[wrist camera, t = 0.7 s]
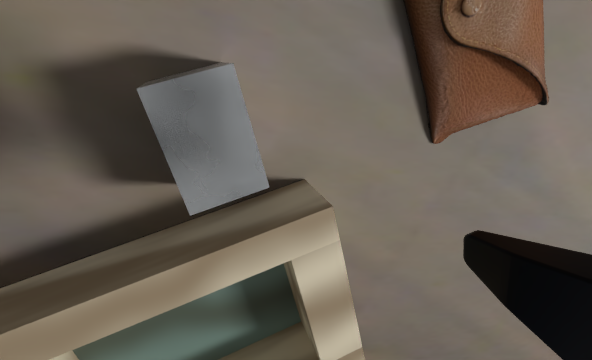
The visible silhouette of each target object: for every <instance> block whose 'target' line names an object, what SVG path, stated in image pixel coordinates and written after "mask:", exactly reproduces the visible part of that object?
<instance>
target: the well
mask: <svg viewBox="0 0 592 360" xmlns="http://www.w3.org/2000/svg"><path fill="white" fill-rule="evenodd" d="M0 360H365V358H364V353H363V348H362V343H361V339H360V334H359V329H358V324H357V319H356V315H355V310H354V305H353V300H352V295H351V291H350V286H349V281H348V276H347V272H346V267H345V262H344V257H343V252H342V248H341V243H340V238H339V233H338V228H337V224H336V219H335V214H334V209H333V206H332V205H331V204H330V203H329V202H328V201H327V200H326V199H325V198H324V197H323V196H322V195H320V194H319V193H318V192H317V191H316V190H315V189H314V188H313V187H312V186H311V185H310V184H309V183H308V182H307V181H306V180H305V179H304V180H301V181H298V182H295V183H293V184H290V185H287V186H284V187H281V188H279V189H276V190H273V191H270V192H268V193H265V194H262V195H259V196H256V197H254V198H251V199H248V200H245V201H242V202H240V203H237V204H234V205H231V206H228V207H226V208H223V209H220V210H217V211H215V212H212V213H209V214H206V215H203V216H201V217H198V218H195V219H192V220H189V221H187V222H184V223H181V224H178V225H176V226H173V227H170V228H167V229H164V230H162V231H159V232H156V233H153V234H150V235H148V236H145V237H142V238H139V239H137V240H134V241H131V242H128V243H125V244H123V245H120V246H117V247H114V248H111V249H109V250H106V251H103V252H100V253H98V254H95V255H92V256H89V257H86V258H84V259H81V260H78V261H75V262H72V263H70V264H67V265H64V266H61V267H58V268H56V269H53V270H50V271H47V272H45V273H42V274H39V275H36V276H33V277H31V278H28V279H25V280H22V281H19V282H17V283H14V284H11V285H8V286H6V287H3V288H0Z"/></svg>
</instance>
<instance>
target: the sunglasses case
mask: <svg viewBox="0 0 592 360" xmlns="http://www.w3.org/2000/svg"><path fill="white" fill-rule="evenodd" d="M404 2H405V6H406V12H407V15H408V19H409V24H410V28H411V33H412V36H413V40H414V45H415V51H416V55H417V59H418V63H419V68H420V72H421V78H422V82H423V86H424V90H425V95H426V104H427V110H428V116H429V129H430V134H431V138H432V142H433V143H434V144H437V143H440V142H442V141H443V140H444V139H446V138H447V137H448V136H449V135H451V134H452V133H455V132H458V131H460V130H463V129H466V128H470V127H472V126H475V125H479V124H481V123H484V122H487V121H490V120H492V119H497V118H499V117H502V116H505V115H507V114H511V113H514V112H517V111H520V110H523V109H525V108H529V107H532V106H535V105H537V104H541V105H547V103H548V101H549V96H548V90H547V85H546V81H545V68H544V21H543V0H404Z"/></svg>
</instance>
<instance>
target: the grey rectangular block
mask: <svg viewBox="0 0 592 360" xmlns="http://www.w3.org/2000/svg"><path fill="white" fill-rule="evenodd" d="M137 92H138V94H139V96H140V99H141V101H142V103H143V106H144V108H145V111H146V113H147V115H148V118H149V120H150V122H151V125H152V127H153V129H154V132H155V134H156V136H157V139H158V141H159V144H160V146H161V148H162V151H163V153H164V155H165V158H166V160H167V162H168V165H169V167H170V169H171V172H172V174H173V177H174V179H175V181H176V184H177V186H178V188H179V191H180V193H181V195H182V198H183V200H184V202H185V205H186V207H187V209H188V212H189V214H190V216H191V215H194V214H196V213H199V212H202V211H205V210H208V209H210V208H213V207H216V206H219V205H222V204H225V203H227V202H230V201H233V200H236V199H239V198H241V197H244V196H247V195H250V194H253V193H255V192H258V191H261V190H264V189H267V188H269V184H268V180H267V177H266V174H265V170H264V167H263V163H262V160H261V157H260V153H259V150H258V146H257V143H256V140H255V136H254V133H253V129H252V126H251V122H250V119H249V116H248V112H247V109H246V105H245V102H244V99H243V95H242V92H241V88H240V85H239V82H238V78H237V75H236V71H235V68H234V65H233V63H223V62H221V63H217V64H213V65H209V66H205V67H202V68H198V69H194V70H190V71H186V72H182V73H179V74H175V75H171V76H167V77H163V78H160V79H156V80H152V81H148V82H145V83H144V84H143V85H141V86H140V87H138V88H137Z"/></svg>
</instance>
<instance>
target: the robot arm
mask: <svg viewBox="0 0 592 360" xmlns="http://www.w3.org/2000/svg"><path fill="white" fill-rule="evenodd" d="M463 257H464V260H465V262H466V264H467V265H468V266H469V268H470V269H471V270H472V271H473V272H474V273H475V274H476V275H477V276H478V277H479V279H480V280H481V281H482V282H483V283H484V284H485V285H486V286H487V287H488V288H489V289H490V291H491V292H492V293H493V294H494V295H495V296H496V297H497V298H498V299H499V300H500V301H501V302H502V304H503V305H504V306H505V307H506V308H507V309H508V310H510V311H511V312H512V313H513V314H514V315H515V316H516V317H517V318H518V319H519V320H520V321H521V322H522V323H523V324H525V325H526V326H527V327H528V328H529V329H530V330H531V331H532V332H533V333H534V334H535V335H537V336H538V337H539V338H540V339H541V340H542V341H543V342H544V343H545V344H546V345H547V346H549V347H550V348H551V349H552V350H553V351H554V352H555V353H556V354H557V355H558V356H559V357H561V358H562V359H563V360H592V255H591V254H586V253H582V252H577V251H572V250H568V249H563V248H558V247H554V246H549V245H545V244H540V243H535V242H531V241H526V240H521V239H517V238H512V237H508V236H503V235H498V234H494V233H489V232H484V231H479V230H477V231H474V232H471V233H469V234H467V235H465V237H464V251H463Z"/></svg>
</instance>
